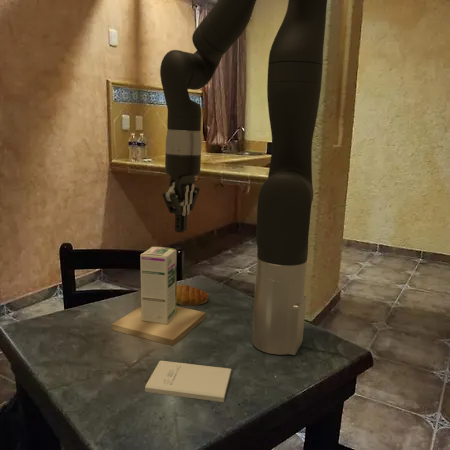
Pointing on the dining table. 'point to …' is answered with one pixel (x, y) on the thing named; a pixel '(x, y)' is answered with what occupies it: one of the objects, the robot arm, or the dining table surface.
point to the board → (160, 325)
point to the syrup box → (158, 285)
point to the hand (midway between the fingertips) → (180, 231)
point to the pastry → (190, 295)
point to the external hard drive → (189, 381)
